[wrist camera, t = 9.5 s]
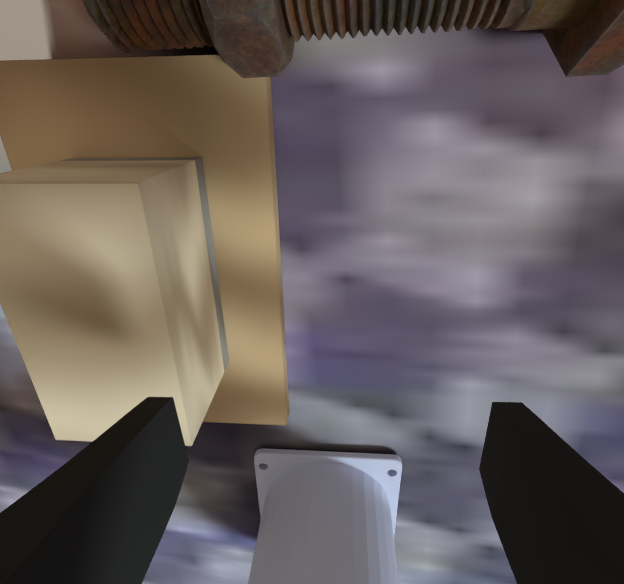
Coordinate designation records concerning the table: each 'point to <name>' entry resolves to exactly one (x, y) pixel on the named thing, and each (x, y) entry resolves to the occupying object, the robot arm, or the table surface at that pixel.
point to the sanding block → (113, 288)
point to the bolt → (355, 26)
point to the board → (178, 143)
